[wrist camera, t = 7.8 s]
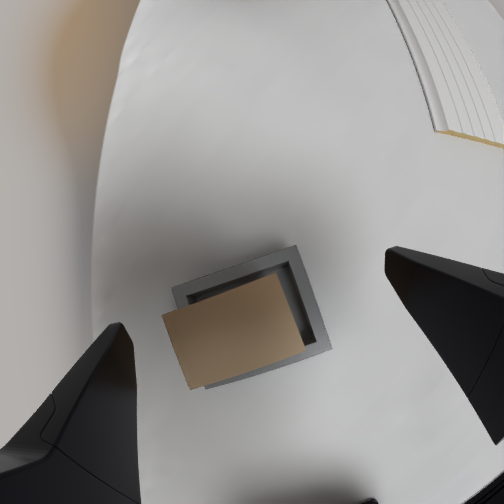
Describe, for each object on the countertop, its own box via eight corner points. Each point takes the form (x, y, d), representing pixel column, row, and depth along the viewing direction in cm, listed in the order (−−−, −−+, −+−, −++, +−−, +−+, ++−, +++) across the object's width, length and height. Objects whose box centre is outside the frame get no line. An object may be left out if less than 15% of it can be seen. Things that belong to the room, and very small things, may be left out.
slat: (290, 327, 21) (306, 350, 10) (230, 349, 21) (190, 390, 10) (274, 288, 22) (276, 272, 11) (215, 310, 22) (161, 315, 11)
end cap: (324, 342, 22) (332, 348, 18) (214, 378, 22) (205, 389, 19) (293, 253, 23) (296, 244, 20) (184, 290, 23) (171, 287, 20)
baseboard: (419, 132, 25) (504, 152, 24) (431, 116, 22) (518, 141, 21) (365, -22, 30) (432, -5, 29) (367, -35, 27) (437, -16, 26)
